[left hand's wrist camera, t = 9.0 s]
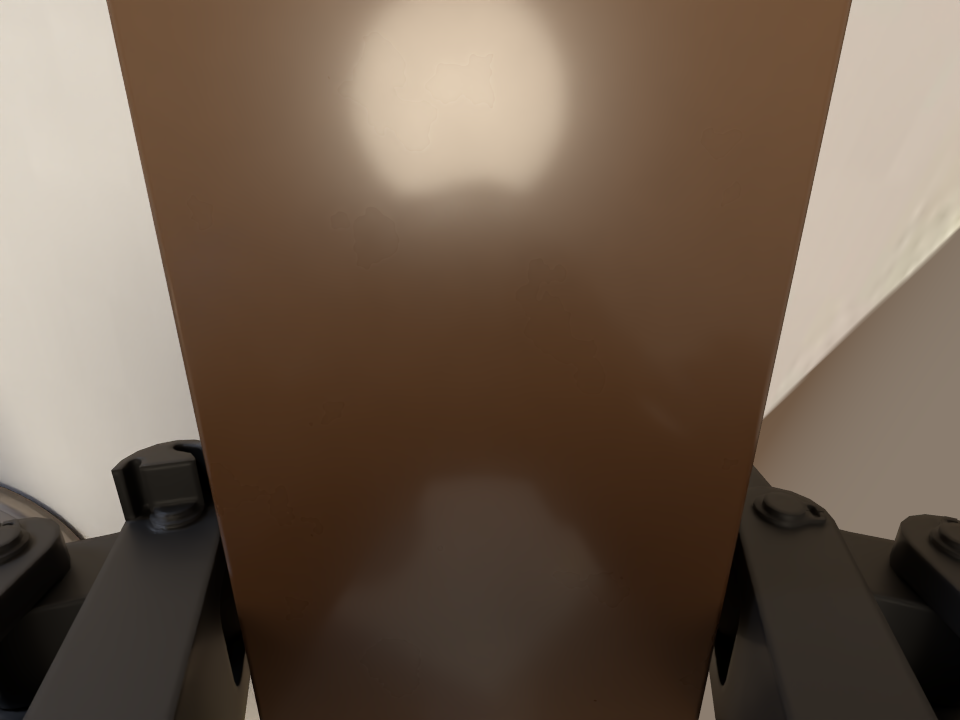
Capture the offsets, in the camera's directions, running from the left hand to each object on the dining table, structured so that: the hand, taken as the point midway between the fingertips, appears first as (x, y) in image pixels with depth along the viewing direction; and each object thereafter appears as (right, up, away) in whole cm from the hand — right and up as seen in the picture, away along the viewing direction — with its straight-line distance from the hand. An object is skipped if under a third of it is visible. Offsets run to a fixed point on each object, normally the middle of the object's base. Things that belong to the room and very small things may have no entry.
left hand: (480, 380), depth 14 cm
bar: (0, +12, -4) cm, 13 cm away
